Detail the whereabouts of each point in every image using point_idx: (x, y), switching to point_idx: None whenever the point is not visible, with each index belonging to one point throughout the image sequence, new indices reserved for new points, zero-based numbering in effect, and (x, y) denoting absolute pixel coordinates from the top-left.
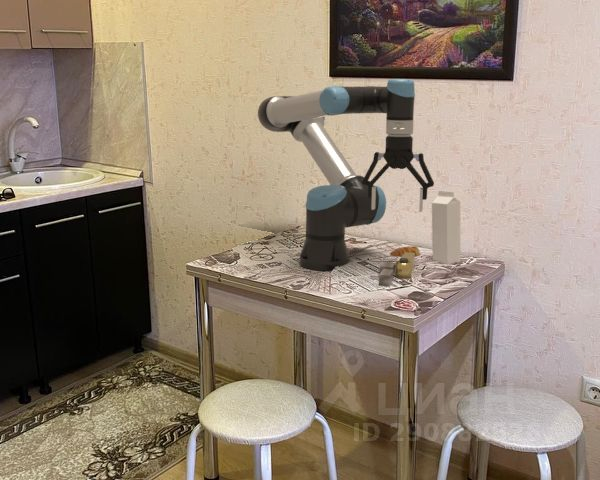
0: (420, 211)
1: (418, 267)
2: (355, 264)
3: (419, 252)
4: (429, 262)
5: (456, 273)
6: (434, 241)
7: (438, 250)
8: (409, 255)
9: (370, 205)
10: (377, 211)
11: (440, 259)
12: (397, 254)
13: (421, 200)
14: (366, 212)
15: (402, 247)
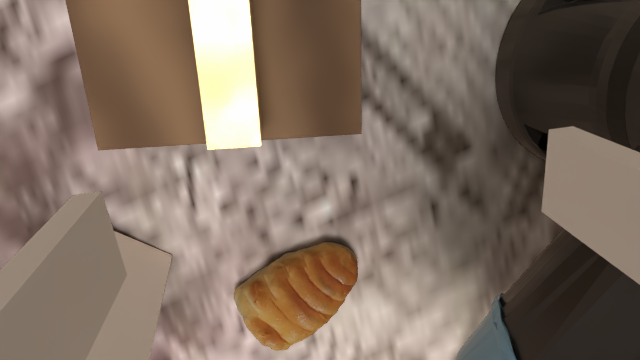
0: (87, 194)
1: (211, 179)
2: (472, 113)
3: (239, 309)
4: (189, 266)
5: (33, 159)
6: (144, 311)
7: (128, 276)
8: (220, 88)
9: (584, 318)
10: (502, 331)
11: (125, 250)
12: (322, 254)
13: (24, 253)
14: (578, 258)
15: (317, 323)
